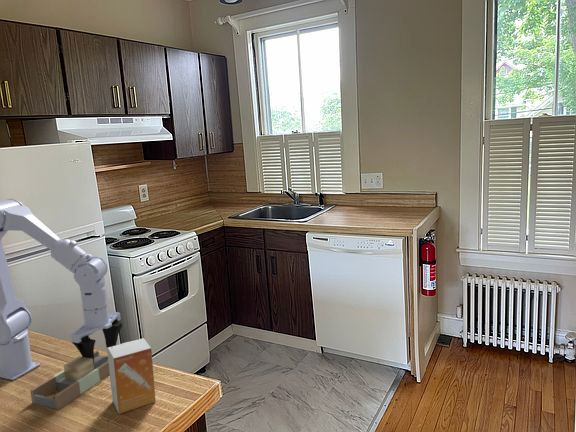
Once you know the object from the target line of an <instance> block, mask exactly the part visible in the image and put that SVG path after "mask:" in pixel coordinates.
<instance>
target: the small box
mask: <svg viewBox="0 0 576 432" xmlns="http://www.w3.org/2000/svg"><path fill="white" fill-rule="evenodd" d="M106 350H107V351H106V352H107V357H108V362H109V372H110V374H109V382H110V389H111V390H110V391H111V398H112V403H113V405H114V407H115V409H116V412H117V413H118V415H121V414H124V413H126V412H129V411H133V410H135V409H138V408H141V407H144V406H146V405H149V404H154V403H156V392H155V391H156V390H155V389H156V388H155V377H154V363H153V354H152V347H151V346H150V345H149V343H148V342H147V341H146V339H145V338H144V337H143V338H139V339H135V340H131V341H126V342H123V343H120V344H116V346H112V347H108V348H107V347H106Z"/></svg>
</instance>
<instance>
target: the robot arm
mask: <svg viewBox="0 0 576 432" xmlns="http://www.w3.org/2000/svg"><path fill="white" fill-rule="evenodd" d="M9 231H15V232H16V231H17V232H19V231H20V232H23V233H25V234H26V235H28V236H29V237H30V238H32V239H33V240H35V241H37V242H38V243H39V244H41V245H43V246H44V247H46V248H47V249H49V250H50V256H51V258H52V259H53V260H55V261H56V262H58V263H59V264H60V265H61V266H62V267H64V268H65V269H67V270H68V271H69V272H70V273H72V274H73V279H74V281H75V282H76V284H78V286H79V290H80V297H81V306H82V314H83V322H84V323H83V325H82V326H81V327H80V328H78V329H77V330H76V331H75V332H73V333H72V334H70V338H71V343H72V344H73V345H74V346H75V348H76V349H77V350H78V352H79V354H80V355H81V357H86V358H91V359H93V364H94V351H95V344H96V339H92V338H91V337H90V336H91V335H93V334H94V333H96V332H99V331H102V333H103V335H104V340H105V346H106V349H107V348H108V347H112V346H116V345H117V342H118V339H119V338H118V337H119V334H120V332H121V330H122V328H123V323H122V322H121V321H120V320H122V319H121V312H116V311H113V312H112V313H111V312H110V313H109V308H108V298H107V297H108V296H107V289H106V288H107V287H106V280H105V276H106V274H107V272H108V264H107V262H106V261H105V260H104V259H103V258H102V257H100V256H96V255H95V256H93V255H92V254H91V253H88V252H86V251H85V250H84V249H82V248H81V247H80V246H79V245H78V242H77V241H75V240H74V239H73V240H71V239H69V238H63V239H62V238H60V236H58V235H57V234H56V233H54V232H53V231H52V230H51V229H50V228H49V227H48V226H47V225H45V224H44V223H43V222H42V221H41V220H40V219H39V218H38V217H36V216H35V215H34V214H33V213H32V210H31V209H30V208H29V206H26V205H24V204H23V203H22V202H21V201H20V200H17V199H16V198H9V199H8V198H7V199H5V200H1V201H0V378H2V379H6V380H11V381H15V380H16V379H18V378H21V377H22V376H23V375H25V374H27V373H28V372H31V371H33V370H34V369H36V368H37V367H39V366H41V363H40V362H36V361H33V360H32V353H31V346H30V340H29V327H30V326H31V324H32V322H33V317H32V316H33V315H32V313H31V312H30V311H29V310H28V308H27V306H26V303H25V301H23V300H21V299H19V298H18V297H17V294H16V291H15V287H14V283H13V280H12V275H11V272H10V269H9V268H10V267H9V263H8V261H7V260H8V259H7V257H6V252H5V248H4V245H3V241H2V238H3V237H4V236H5V235H6V234H7V233H8V232H9Z"/></svg>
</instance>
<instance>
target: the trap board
mask: <svg viewBox="0 0 576 432" xmlns="http://www.w3.org/2000/svg"><path fill="white" fill-rule="evenodd" d="M93 365H94V370H93V371H91V372H90V373H88V374H87V375H85V376H84V377H82V378H81V379H79V380H78V381H74V380H70V379H65V372H64V369H63V370H61V371H59V372H58V373H56V374H54V375H53V376H51V377H49V378H48V379H45V381H43V382H41V383H40V384H39V383H38V385H36V386H34V387H33V388H32V389H30V391H29V392H30V397H31V403H32V404H35V405H38V406H43V407H47V408H50V409H54V410H60V409H62V408H63V407H65V406H66V405H68V404H69V403H70V402H72V401H74V400H75V399H76V398H78V397H79V396H81V395H82V394H83V393H85V392H86V391H88V390H89V389H91V388H92V387H94V386H95V385H97V384H98V383H100V381H102V380H104V379H105V378H107V377H108V376H110V372H109V362H108V355H107V356H106V355H100V353H99V350H94V364H93ZM57 390H58V391H59V392H57V393H56V394H54V398H53V397H48V396H49V395H51V394H52V393H54V392H55V391H57Z"/></svg>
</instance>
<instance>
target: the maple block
mask: <svg viewBox="0 0 576 432" xmlns="http://www.w3.org/2000/svg"><path fill="white" fill-rule="evenodd" d="M63 370H64V372H65V379H70V380H74V381H78V380H79V379H81V378H82V377H84V376H85V375H87V374H88V373H90V372H91V371H93V370H94V365H93V359H91V358H86V357H82V356H80V355H79V356H78V355H77V357H75V358H73V359H71V360H70V361H67V362H66V363H65V364H63Z"/></svg>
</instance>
